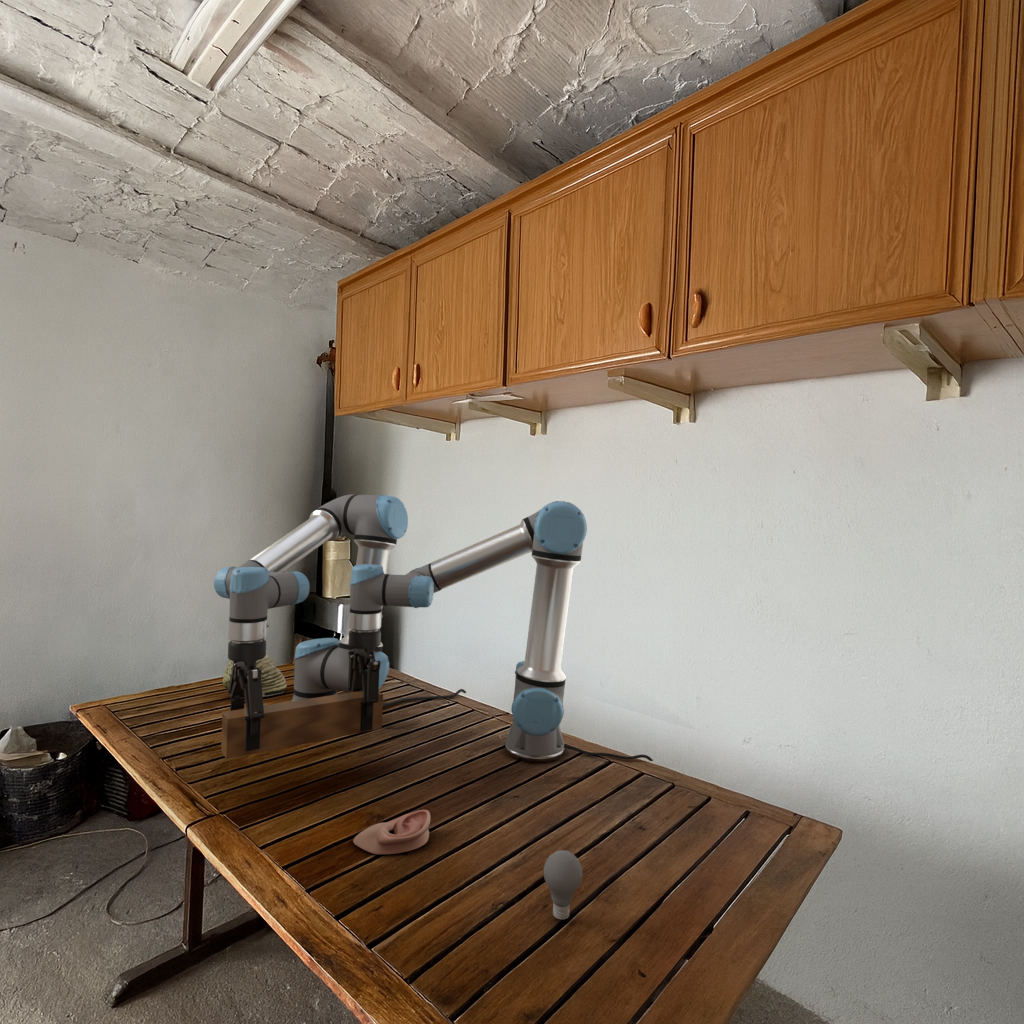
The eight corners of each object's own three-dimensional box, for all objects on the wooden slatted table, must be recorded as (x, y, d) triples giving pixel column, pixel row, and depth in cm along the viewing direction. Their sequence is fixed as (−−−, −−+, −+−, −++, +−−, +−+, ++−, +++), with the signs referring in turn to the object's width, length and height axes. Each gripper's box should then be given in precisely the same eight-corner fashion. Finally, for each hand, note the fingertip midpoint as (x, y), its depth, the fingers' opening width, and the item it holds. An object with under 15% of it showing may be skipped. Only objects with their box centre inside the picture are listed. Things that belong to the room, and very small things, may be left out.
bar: (226, 759, 131) (227, 719, 131) (221, 750, 135) (222, 712, 135) (381, 728, 152) (383, 694, 152) (373, 722, 156) (374, 688, 156)
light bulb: (539, 904, 101) (542, 842, 101) (576, 904, 101) (579, 842, 101) (544, 930, 95) (547, 864, 95) (583, 929, 95) (586, 864, 95)
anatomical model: (346, 827, 114) (372, 798, 125) (345, 849, 114) (372, 818, 125) (416, 839, 111) (436, 808, 122) (415, 861, 111) (436, 828, 123)
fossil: (218, 695, 195) (220, 647, 195) (278, 685, 208) (279, 640, 207) (228, 703, 189) (230, 653, 188) (289, 692, 201) (290, 645, 201)
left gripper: (282, 650, 127) (279, 755, 128) (250, 627, 147) (247, 718, 148) (243, 654, 123) (239, 763, 123) (216, 630, 143) (212, 723, 143)
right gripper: (396, 635, 146) (392, 735, 146) (364, 621, 161) (361, 712, 161) (365, 638, 142) (361, 741, 142) (335, 623, 156) (332, 717, 157)
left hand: (244, 739), depth 136 cm, fingers open, 13 cm apart
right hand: (361, 726), depth 151 cm, fingers closed on bar, 5 cm apart
